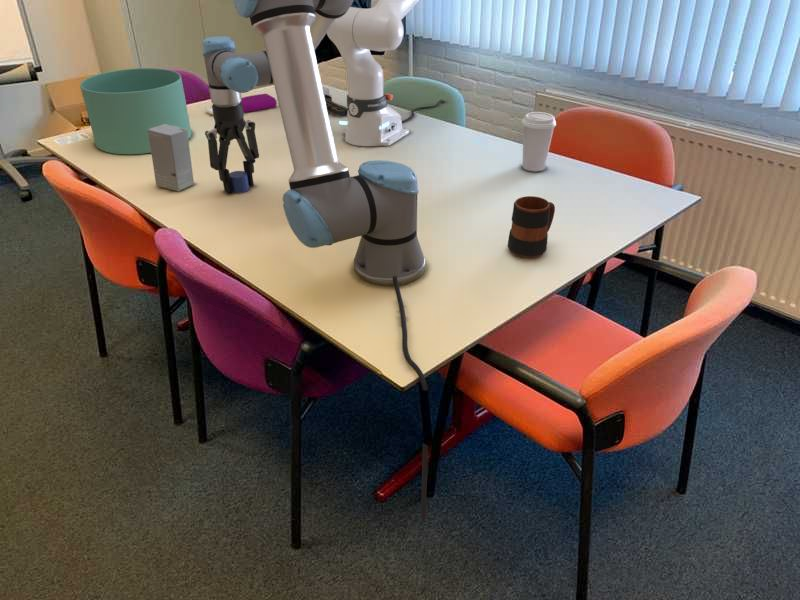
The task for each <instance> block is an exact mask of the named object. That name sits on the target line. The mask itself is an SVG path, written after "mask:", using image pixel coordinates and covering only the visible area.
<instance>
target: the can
mask: <svg viewBox="0 0 800 600" xmlns="http://www.w3.org/2000/svg"><path fill="white" fill-rule="evenodd" d="M229 175H230V181H231V188H232V194H233V193H234V194H243V193H246V192H248V191H249V190H250V186H249V185H248V177H247V173H246V172H244V170H234V171H231V172H229Z"/></svg>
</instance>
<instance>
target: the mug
mask: <svg viewBox="0 0 800 600" xmlns="http://www.w3.org/2000/svg"><path fill="white" fill-rule="evenodd" d="M555 213H556V207H555V204H554V203H553V202H551V201H548V200H547V199H546V198H543V197H539V196H531V195H528V196H527V195H526V196H521V197H518V198H517V199H515V201H514V202H513V208H512V213H511V226H510V227H511V228H510V230H509V232H508V233H509V234H508V240H507V248H508V250H509V252H510V253H511V254H512V255H513V256H515V257H518V258H521V259H528V260H529V259H531V260H533V259H537V258H540V257H542V256H543V255H544V254H545V253H546V251H547V247H548V240H549V239H548V238H549V235H548V233H549V231H550V229H551V226H552V224H553V220H554V216H555Z"/></svg>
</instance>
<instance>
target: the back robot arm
mask: <svg viewBox="0 0 800 600" xmlns="http://www.w3.org/2000/svg"><path fill="white" fill-rule="evenodd" d="M419 1H420V0H371V1H370V8H362V7H353V6H350V8H349V9H348V11H347V12H346V13H345V14H344V15H343V16H342V17H340V18H338V19H335V21H334V22H333V24H332V25H331V27H330V28H329V30H328V31H327V33H326V35H327V37H328V39H329V40H330V41H331V42H332V43H333V44H334V46H336V47H335V48H337V51H338V52H339V54H340V56H341V59H342V61H343V63H344V67H345V72H346V83H347V95H346V108H348V111H347V115H346V120H345V121H344V120H339V125H344V126H346V128H345V130H344V141H345V142H346V143H347V144H350V145H352V146H358V147H377V146H379V147H380V146H381V147H382V146H383V147H388V146H391V145H392V144H394V143H396V142H398V141H400V139H403V138H404V137H405V136H407V135H408V134H410V129H409V128H407V127H405V126H404V125H403V123H406V122H409V121H410V120H411V119H412V118H414V116H415V113H414V112H415V111H418V110H425V109H432V108H433V109H434V108H436V107H438V105H440V104H441V103H443V104H445V103H446V102H445V100H444V99H440V100H438V101H437V103H435V104H433V105H429V106H428V105H427V106H419V107H415V108H413V109H411V115H410V116H409V117H408V118H405V119H404V120H403V119H402V116H401V114H400V113H399V112H398V111H396V110H395V109H393V108H392V107H391V106H390V105H388V101H392V100H393V97H394V95H393V94H391V93H384V70H383V68H382V66H381V65H380V64H379V62H378V61H377V60H375V58H374V57H373V55H372V53H371V51H374V52H390V51H395V50H396V49H398V48H399V46H400V45H401V43H402V42H403V39H404V34H405V30H404V24H403V22H402V20H403V19H404V18H405V16H407V14H409V13H410V11H411V10H413V8H414V7H415V6H416V5H417V4H418V2H419Z"/></svg>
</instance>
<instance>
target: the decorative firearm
mask: <svg viewBox="0 0 800 600" xmlns="http://www.w3.org/2000/svg"><path fill="white" fill-rule="evenodd" d="M322 87H323V92H324V97H325V101H326V106H327V111H328V112H331V113H333V114H335V115H339V116H341V115H343V116H347V111H348V107H347V106H343V105H342V104H338V103H336V102H335V101H333V96H331V95H330V88H328V87H324V86H322Z"/></svg>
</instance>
